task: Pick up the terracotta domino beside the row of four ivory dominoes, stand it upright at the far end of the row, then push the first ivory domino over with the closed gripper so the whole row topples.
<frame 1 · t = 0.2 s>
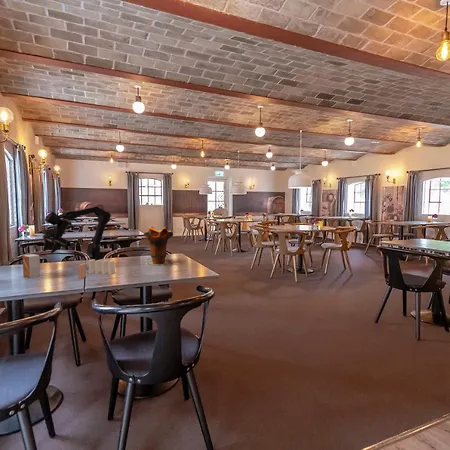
hand: (47, 251, 192), 15 cm above the table, tool tilted 30°, fingers open, 9 cm apart
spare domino: (82, 277, 190), on the table
domino 2: (98, 272, 202), on the table
domino 3: (105, 273, 202), on the table
domino 4: (111, 273, 201), on the table
decorative vase: (158, 263, 233), on the table
small box: (31, 276, 193), on the table
domino 1: (92, 272, 203), on the table
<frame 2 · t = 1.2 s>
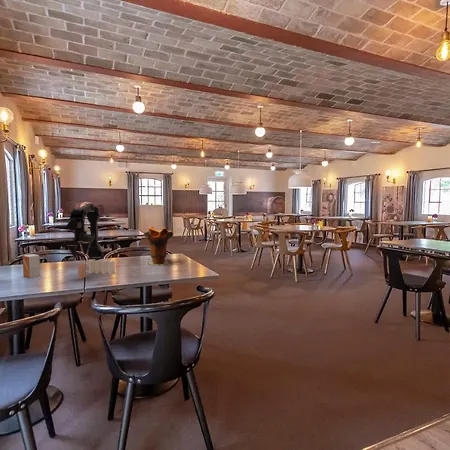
hand: (80, 255, 189), 13 cm above the table, tool pointing down, fingers open, 9 cm apart
nothing on the table moved.
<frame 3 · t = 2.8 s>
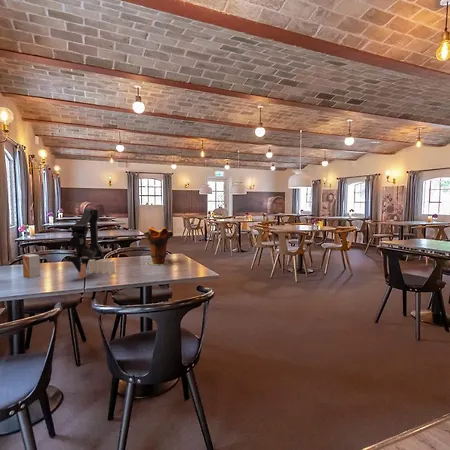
hand: (82, 270, 190), 4 cm above the table, tool pointing down, fingers closed on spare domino, 5 cm apart
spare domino: (82, 277, 190), on the table, touching gripper
everything else where it was.
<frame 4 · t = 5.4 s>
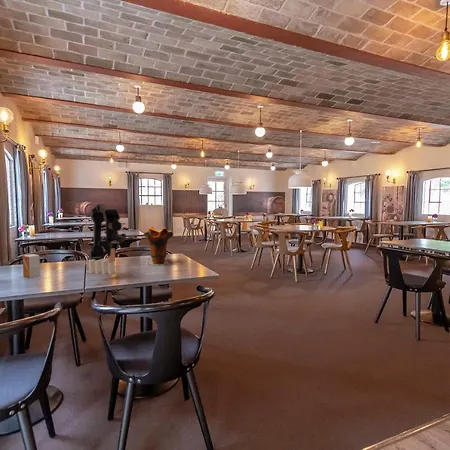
hand: (111, 255, 192), 13 cm above the table, tool pointing down, fingers closed on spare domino, 5 cm apart
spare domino: (111, 262, 193), point 9 cm above the table, touching gripper
everything else where it was.
when the fingers open (5 cm above the table, at t = 8.3 s): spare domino stays where it is, on the table.
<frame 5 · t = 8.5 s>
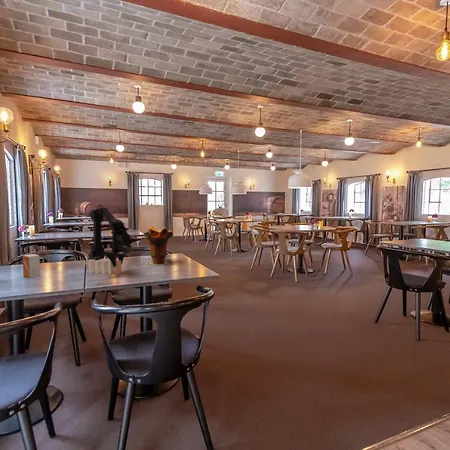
hand: (117, 265, 200), 5 cm above the table, tool pointing down, fingers open, 7 cm apart
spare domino: (118, 273, 200), on the table
everything else where it was.
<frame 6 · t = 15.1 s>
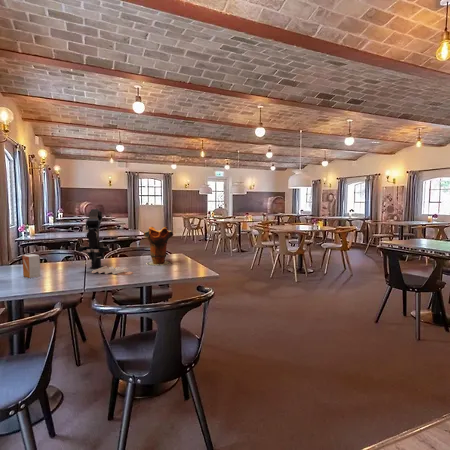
hand: (94, 262, 203), 6 cm above the table, tool pointing down, fingers closed
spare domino: (119, 273, 200), on the table, tilted 90°
domino 2: (100, 271, 202), point 1 cm above the table, tilted 70°, touching domino 1, domino 3
domino 3: (107, 272, 201), point 1 cm above the table, tilted 71°, touching domino 2
domino 4: (114, 272, 200), point 1 cm above the table, tilted 74°
domino 1: (94, 271, 203), point 1 cm above the table, tilted 70°, touching domino 2
everything else where it was.
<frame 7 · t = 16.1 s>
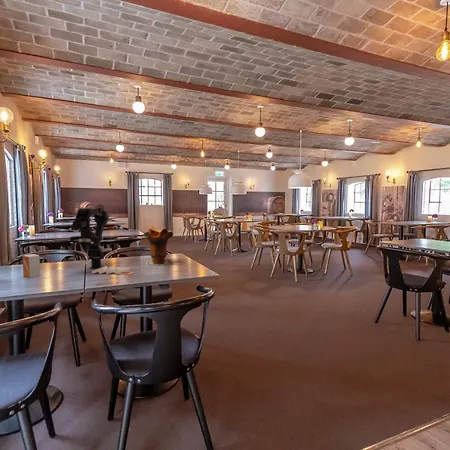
hand: (86, 252, 203), 13 cm above the table, tool pointing down, fingers closed
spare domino: (120, 273, 200), on the table, tilted 90°, touching domino 4
domino 4: (117, 272, 200), point 1 cm above the table, tilted 74°, touching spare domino
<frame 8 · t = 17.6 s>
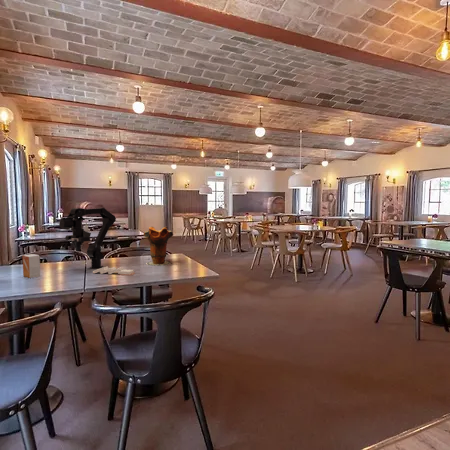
hand: (78, 251, 206), 13 cm above the table, tool pointing down, fingers closed
domino 2: (102, 271, 202), point 1 cm above the table, tilted 72°, touching domino 3
domino 3: (110, 272, 201), point 1 cm above the table, tilted 70°, touching domino 2, domino 4
domino 4: (120, 271, 199), point 2 cm above the table, tilted 90°, touching domino 3, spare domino
domino 1: (95, 271, 203), point 1 cm above the table, tilted 72°
at the end: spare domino tilted 90°; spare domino inside the target area (0.3 cm from its centre), on the table; domino 1 tilted 73° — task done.
